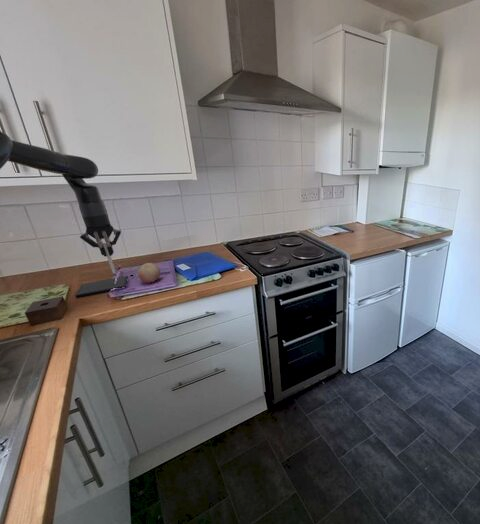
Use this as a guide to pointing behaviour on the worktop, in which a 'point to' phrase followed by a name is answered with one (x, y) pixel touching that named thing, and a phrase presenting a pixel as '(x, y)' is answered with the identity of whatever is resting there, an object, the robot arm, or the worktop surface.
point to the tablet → (100, 286)
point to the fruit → (149, 272)
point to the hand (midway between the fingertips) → (108, 255)
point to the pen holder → (46, 310)
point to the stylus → (109, 259)
